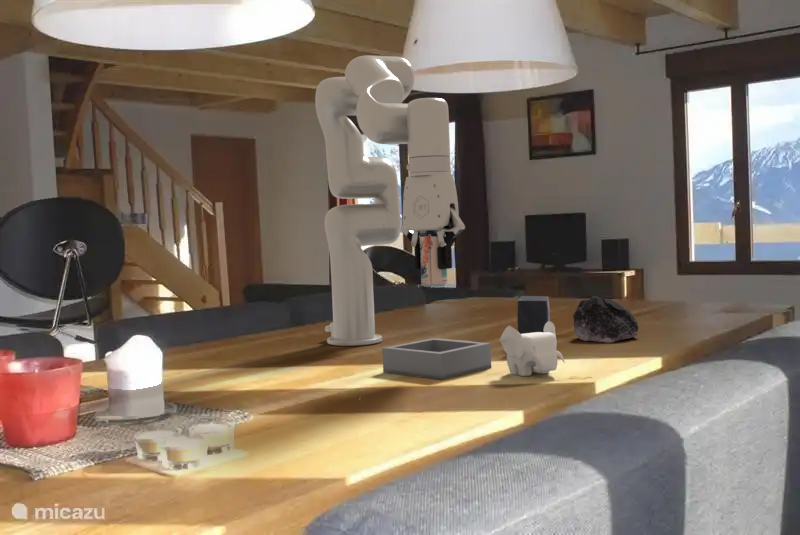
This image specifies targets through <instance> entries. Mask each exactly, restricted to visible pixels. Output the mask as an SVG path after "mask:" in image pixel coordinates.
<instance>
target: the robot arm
mask: <svg viewBox="0 0 800 535" xmlns="http://www.w3.org/2000/svg"><path fill="white" fill-rule="evenodd" d="M344 71H345V72H344V76H333V77H328V78H325V79H323V80H321V81H320V82H319V83H318V84H317V87H316V90H315V99H314V100H315V102H314V103H315V110H316V116H317V119H318V122H319V125H320V129H321V130H322V134H323V137H324V142H325V143H324V144H325V157H326V158H325V159H326V168H327V169H326V170H327V181H328V187H329V188H328V189H329V191H330V193H331V195H332V196H333V197H335V198H338V199H343V200H344V199H347V200H348V199H350V200H351V199H352V200H353V199H373V200H374V202H375V203H358V204H357V203H355V204H354V203H352V204H340V205H337V206H334V207H332V208H330V209H329V210H328V211H327V213H326V214H325V217H324V230H325V235H326V240H327V245H328V251H329V259H330V263H329V264H330V278H331V281H330V282H331V298H332V322H330V324H328V325H326V326H324V331H325V332H327V333H328V332H329V333H330V334H331V335H330V336H329V337H327V339H326V343H327V345H330V346H341V347H347V346H348V347H351V346H352V347H355V346H356V347H357V346H366V345H367V346H368V345H372V344H374V345H375V344H377V343H378V344H379V343H381V342H382V341H383V336H382V335H381V334H376V324H375V302H374V301H375V300H374V298H375V297H374V279H373V278H374V276H373V264H372V261H371V259H370V257H369V256H368V255H367V254H366V252H364V250H363V249H362V247H366V246H367V247H368V246H382V245H383V246H384V245H390V244H394V243H395V242H397V241H398V240H399V237H400V235H401V232H402V233H403V234H404V235H405V236H406V237H407V239H408V241H409V242H410V244H411V247H412V248H413V249H414V268H415V269H416V270H421V261H420V235H419V231H426V230H436V231H437V235H438V239H439V243H440V247H438V248H437V256H438V268H439V269H447V270H449V269H453V268H452V267H453V256H452V255H453V253H452V247H453V246H455V242H456V241H457V239H458V237H459V235H460V234H461V233H463V231H464V230H465V229H466V225H465V224H464V222H463V221H462V219H461V218H460V216H459V201H458V194H457V193H458V191H457V188H456V187H457V186H456V182H455V178H454V177H455V176H454V174H452V173H451V148H450V147H451V144H450V143H451V142H450V120H449V119H450V115H449V105H448V102H447V101H446V100H445V99H444V98H440V97H439V98H438V97H423V98H422V97H420V98H415V99H413V100H411V101H409V102H408V103H403V102H404V101H405V99H407V98H408V96H409V95H410V94H411V93H412V92H411V91H412V90H413V86H414V84H415V73H414V69H413V67H412V64H411V63H410V62H409V61H408V60H407V59H405V58H404V57H401V56H394V55H393V56H392V55H391V56H389V55H369V54H368V55H367V54H365V55H360V56H356V57H355V58H353V59H351V60H350V61H349V63H348V64H347V65H346V68H345V70H344ZM348 116H356V120H357V124H358V127H359V129H360V130H361V132H362V133H363V134H364V136H365V137H367V139H369V140H370V141H371V142H373V143H376V144H380V145H407V147H408V148H407V149H408V150H407V152H408V163H407V164H406V170H407V172H408V173H409V174H408V175H409V176H406V177H405V180H404V188H403V199H402V224H401V210H400V208H401V207H400V194H399V193H400V192H399V181H398V174H397V170H396V167H395V165H394V164H393V162H392V161H391V160H390V159H388V158H386V157H382V156H366V155H365V153H364V146H363V136H362V133H361V132H360V130H359V129H358V128H357V126H356V125H355V123H354V122H353V121H352V119H350V118H349V117H348ZM444 226H445V228H443V227H444ZM442 228H443V229H442ZM444 233H445V235H446V236H445V235H444Z"/></svg>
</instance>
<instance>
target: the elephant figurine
mask: <svg viewBox="0 0 800 535" xmlns="http://www.w3.org/2000/svg"><path fill="white" fill-rule="evenodd" d="M556 336H557V335H556V326H555V324H554V323H553V322H552V321H551V320H550V321H548V322H547V323H546V324H545V326H544V332H534V333H525V334H520V333H519V332H518V329H515V328H514V327H513V326H511V325H507V326H506V328H504V330H503V332H502V334H501V336H500V338H499V342H500V343H501V345H502V349H503V350H504V352H505V353H506V363H507V368H508V370H509V373H510V374H511V375H515V376H516V375H519V376H520V377H528V376H529V377H530V376H531V375H532V373H537V374H540V375H542V374H543V375H544V374H549V373H550V372H551V371H556V370H557V367H558V363H559V362H558V360H559V359H558V357H559V358H560V359H561V360H562V362H563V363H564V364H566V363H565V359H564V357H563V354H562V353H561V351H558V350H557V346H558V344H557V343H558V341H557V337H556Z"/></svg>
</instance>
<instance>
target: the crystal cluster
mask: <svg viewBox="0 0 800 535" xmlns="http://www.w3.org/2000/svg"><path fill="white" fill-rule="evenodd" d="M572 318H573V332H574V334H575V335H576V336H577V337H578V339H579V340H582V341H584V342H585V341H586V342H588V341H589V342H590V341H591V342H595V343H596V342H597V343H614V342H618V341H622V340H628V339H632V338H636V337H637V336H638V335H639V333H638V331H639V324H638V321H637V320H636V318H635V317H634V316H633V314H632V313H631V311H630V310H629V309H627V308H625V306H623V305H621V304H619V303H618V302H617V301H615V300H612V299H608V298H605V297H599V296H596V295H595V296H591V297H590V298H589V299H586V298H585V299H581V301H579V304H578V305H577V308H576V309H575V311H574V313H573V315H572Z"/></svg>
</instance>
